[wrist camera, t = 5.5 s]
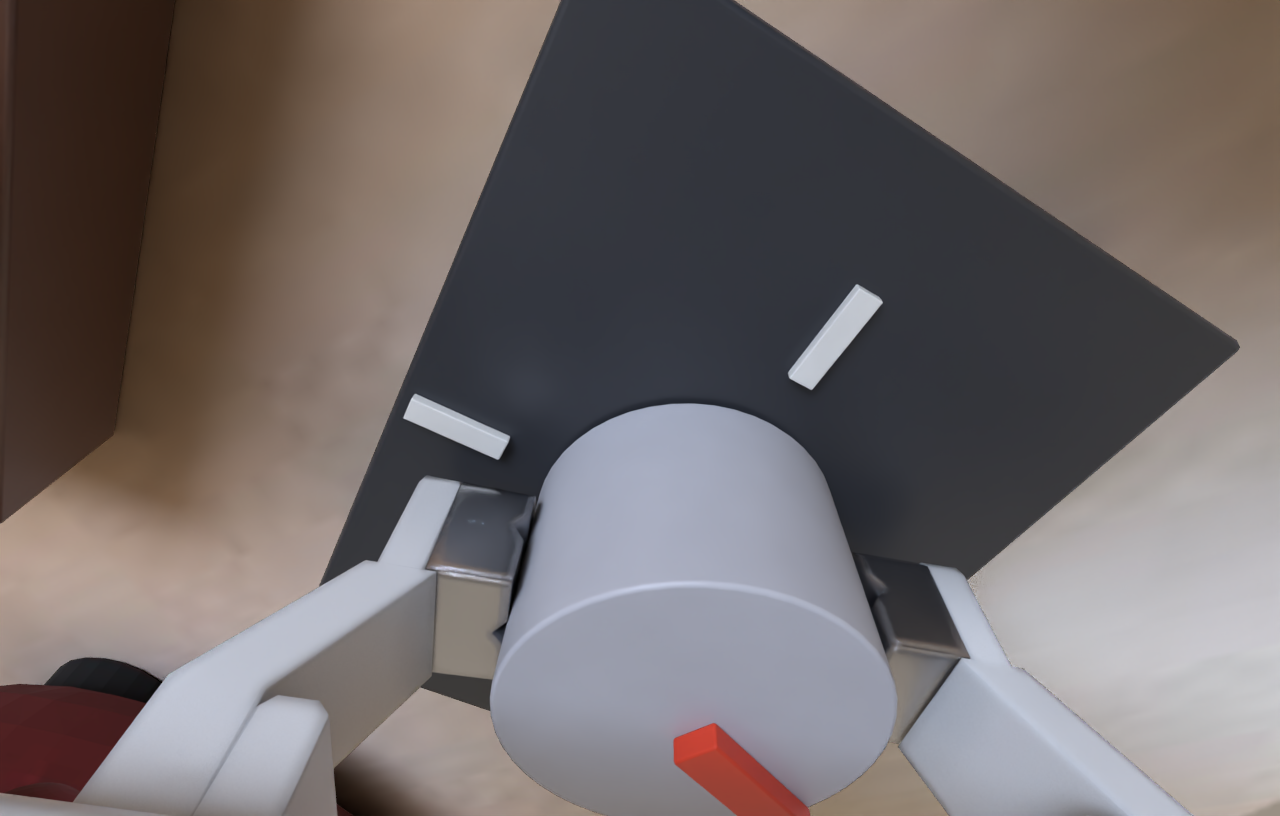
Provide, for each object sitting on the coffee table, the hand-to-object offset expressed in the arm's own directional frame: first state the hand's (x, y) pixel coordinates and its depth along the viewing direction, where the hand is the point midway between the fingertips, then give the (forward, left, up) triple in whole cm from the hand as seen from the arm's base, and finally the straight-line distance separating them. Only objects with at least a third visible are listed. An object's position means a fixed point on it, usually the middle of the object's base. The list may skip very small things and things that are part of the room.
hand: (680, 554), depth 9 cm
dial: (0, 0, -1) cm, 1 cm away
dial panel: (0, 0, -4) cm, 4 cm away
